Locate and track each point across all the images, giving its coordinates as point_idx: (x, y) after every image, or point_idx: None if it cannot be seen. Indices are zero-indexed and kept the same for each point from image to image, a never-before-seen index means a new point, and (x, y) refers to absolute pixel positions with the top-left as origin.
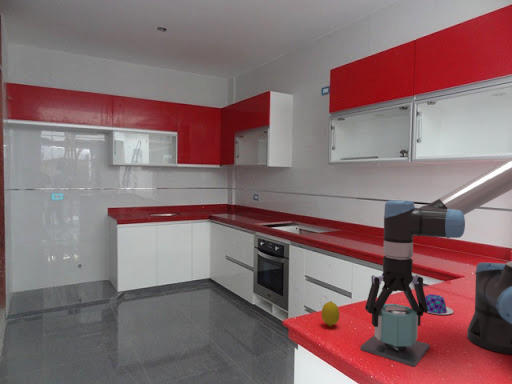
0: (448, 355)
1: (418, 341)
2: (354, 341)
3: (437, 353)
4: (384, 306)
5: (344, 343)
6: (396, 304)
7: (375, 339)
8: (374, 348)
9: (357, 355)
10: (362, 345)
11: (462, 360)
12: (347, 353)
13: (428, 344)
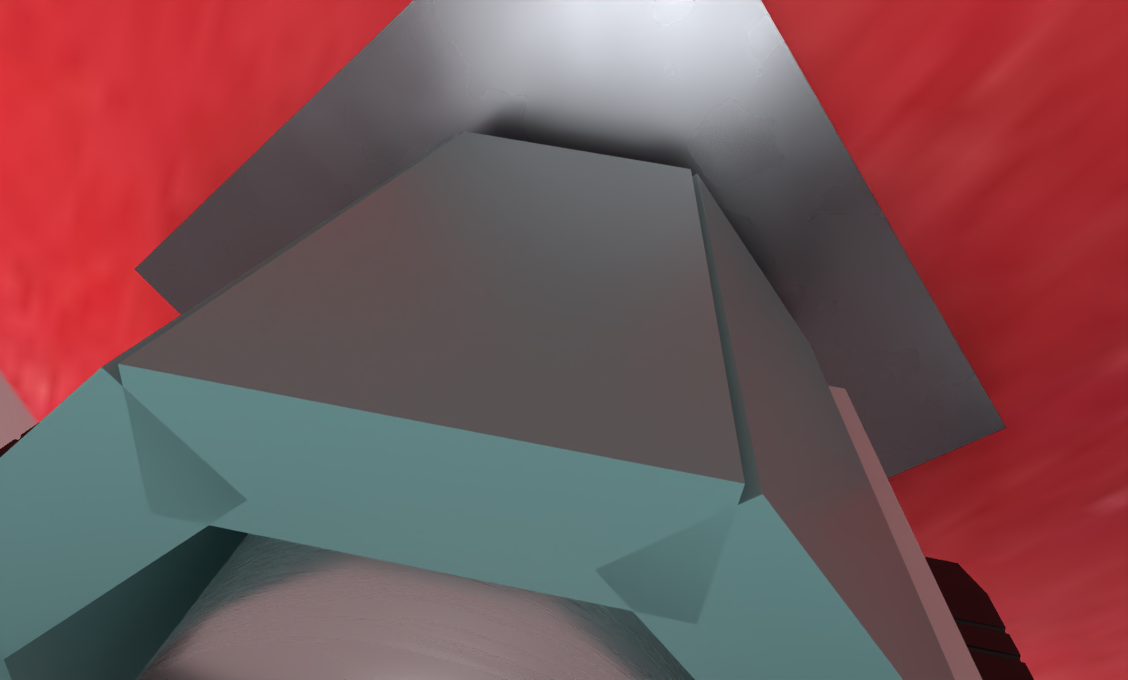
0: (1012, 563)
1: (940, 330)
2: (138, 24)
3: (942, 509)
4: (154, 558)
5: (2, 57)
6: (741, 572)
7: (381, 143)
8: None
9: (109, 350)
10: (159, 263)
11: (1038, 650)
12: (18, 293)
13: (984, 429)
